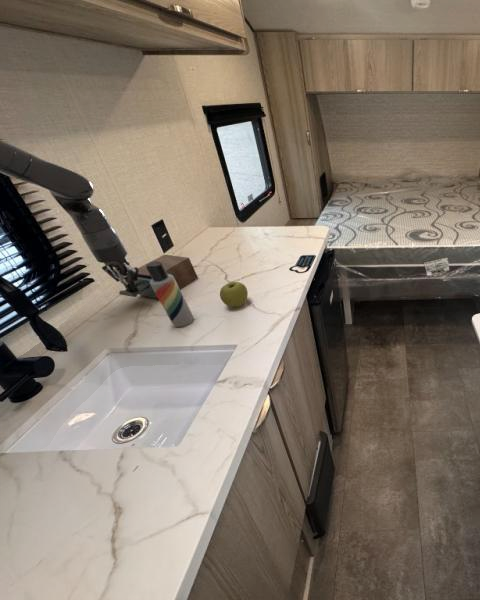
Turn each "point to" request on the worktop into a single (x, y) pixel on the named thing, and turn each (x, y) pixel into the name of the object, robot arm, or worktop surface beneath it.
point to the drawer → (141, 288)
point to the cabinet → (174, 269)
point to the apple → (234, 294)
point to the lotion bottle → (169, 295)
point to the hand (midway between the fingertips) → (134, 292)
